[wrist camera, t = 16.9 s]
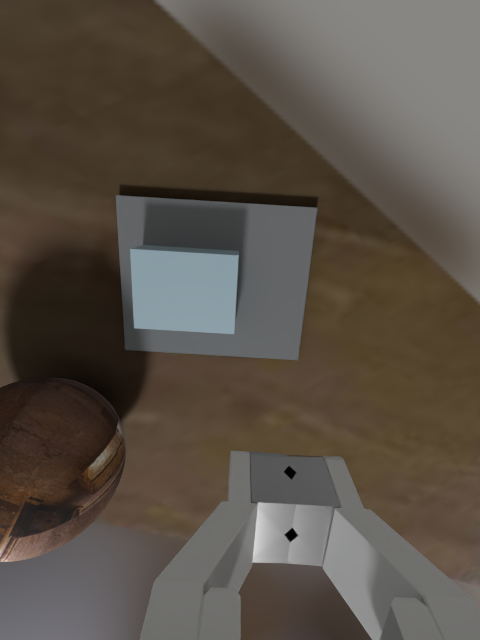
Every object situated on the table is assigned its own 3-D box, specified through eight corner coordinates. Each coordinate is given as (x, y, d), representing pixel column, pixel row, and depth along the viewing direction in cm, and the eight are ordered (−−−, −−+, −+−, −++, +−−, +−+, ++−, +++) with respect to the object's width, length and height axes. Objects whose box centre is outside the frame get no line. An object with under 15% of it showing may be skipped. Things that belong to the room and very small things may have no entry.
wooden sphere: (11, 449, 38) (-127, 588, 24) (15, 337, 34) (-153, 427, 19) (134, 475, 39) (71, 624, 25) (154, 370, 35) (92, 478, 20)
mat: (315, 207, 29) (317, 207, 28) (296, 356, 34) (297, 359, 33) (119, 195, 29) (115, 195, 28) (127, 346, 34) (125, 349, 33)
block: (238, 255, 26) (130, 248, 26) (234, 334, 29) (134, 328, 29) (239, 250, 30) (142, 245, 30) (235, 321, 32) (145, 316, 32)
